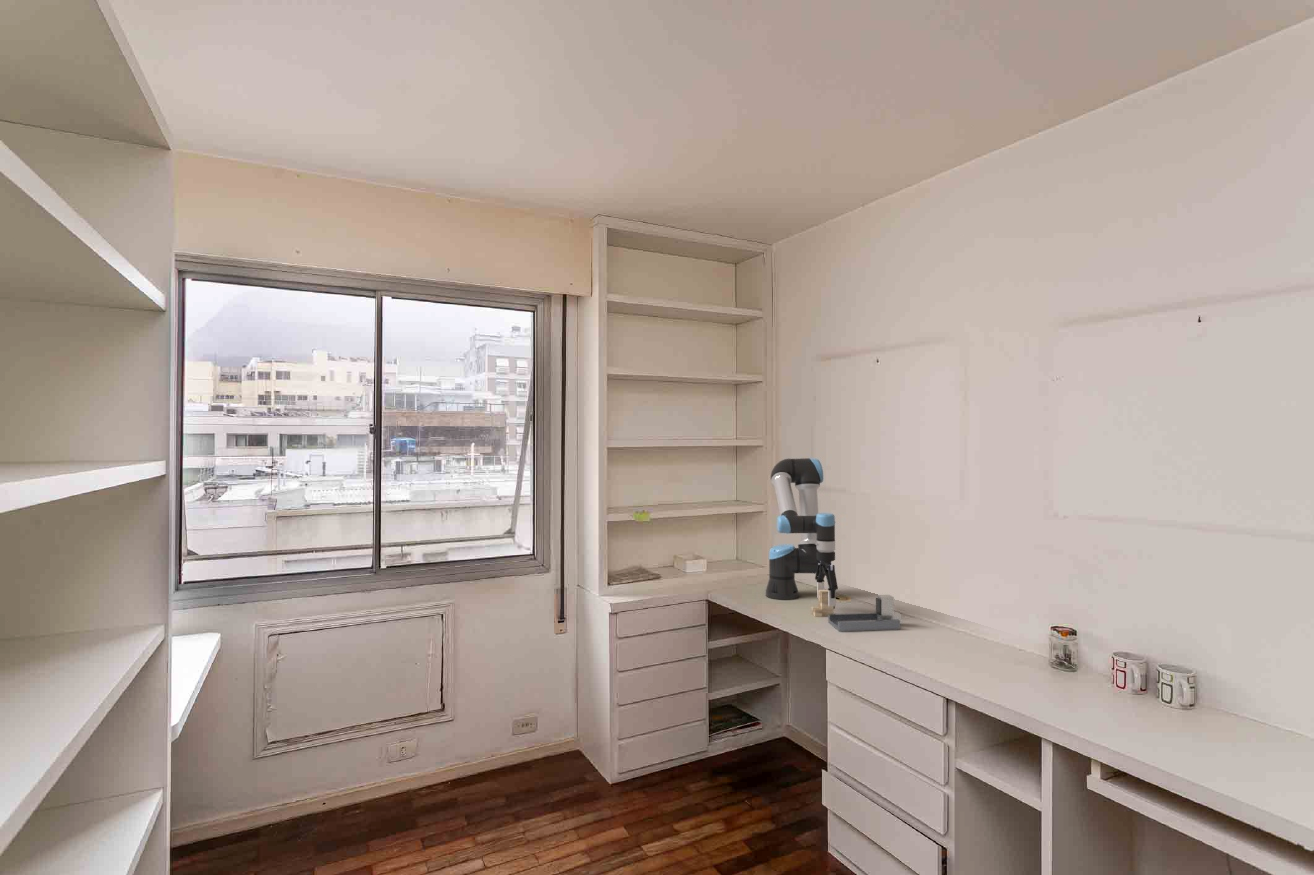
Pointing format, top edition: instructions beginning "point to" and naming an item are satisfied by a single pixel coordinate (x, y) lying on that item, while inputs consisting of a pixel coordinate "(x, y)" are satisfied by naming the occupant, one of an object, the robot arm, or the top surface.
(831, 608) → the wooden stepped block
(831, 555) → the robot arm
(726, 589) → the top surface
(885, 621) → the grey tray with panel
